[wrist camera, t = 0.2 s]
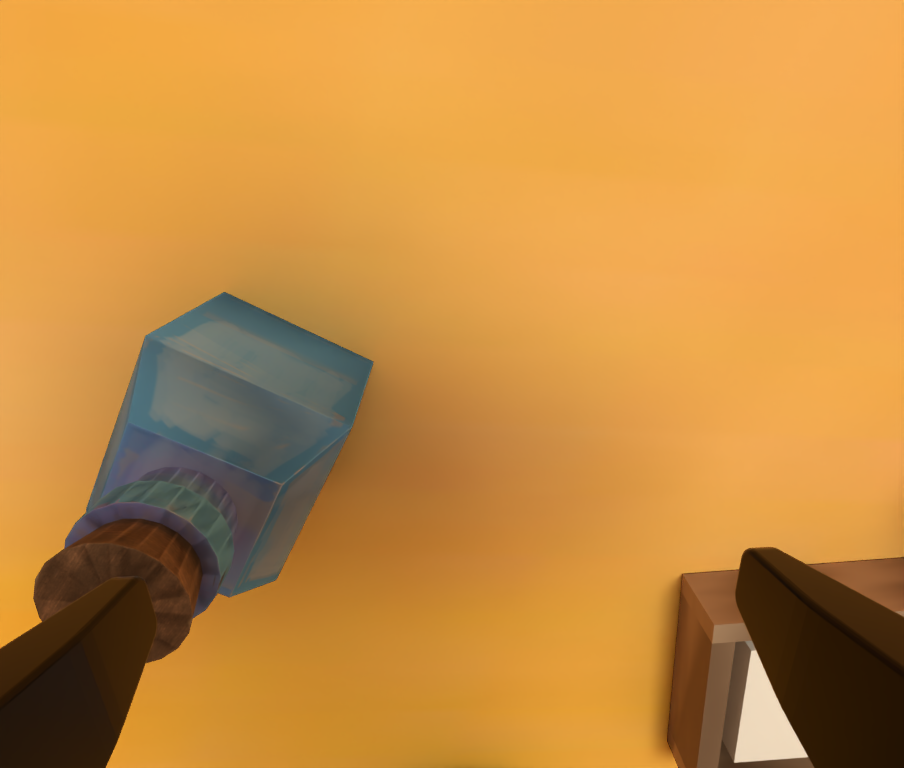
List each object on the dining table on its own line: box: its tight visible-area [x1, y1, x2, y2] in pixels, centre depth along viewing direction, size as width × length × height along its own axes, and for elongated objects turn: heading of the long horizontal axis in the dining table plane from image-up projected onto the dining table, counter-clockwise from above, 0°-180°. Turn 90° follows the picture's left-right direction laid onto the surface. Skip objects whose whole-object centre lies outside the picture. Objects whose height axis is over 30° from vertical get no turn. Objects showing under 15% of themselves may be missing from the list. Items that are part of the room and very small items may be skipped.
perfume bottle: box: [33, 292, 373, 663], centre depth 17 cm, size 6×6×12 cm
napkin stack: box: [722, 641, 808, 763], centre depth 27 cm, size 7×7×2 cm
